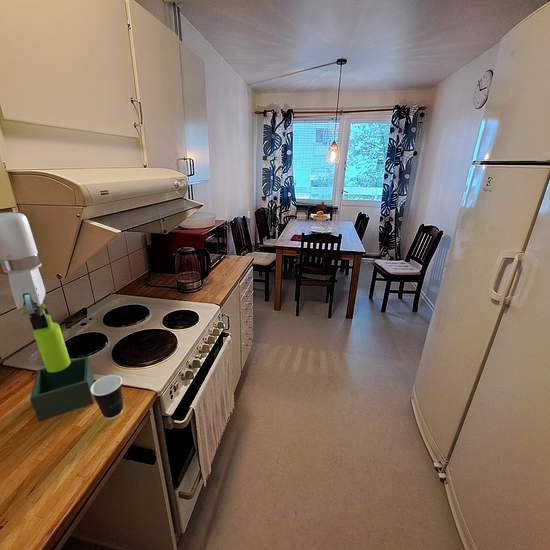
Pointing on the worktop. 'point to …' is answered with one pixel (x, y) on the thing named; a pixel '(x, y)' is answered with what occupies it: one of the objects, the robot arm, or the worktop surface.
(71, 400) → the bin
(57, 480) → the worktop surface
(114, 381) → the dixie cup
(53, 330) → the soap dispenser
